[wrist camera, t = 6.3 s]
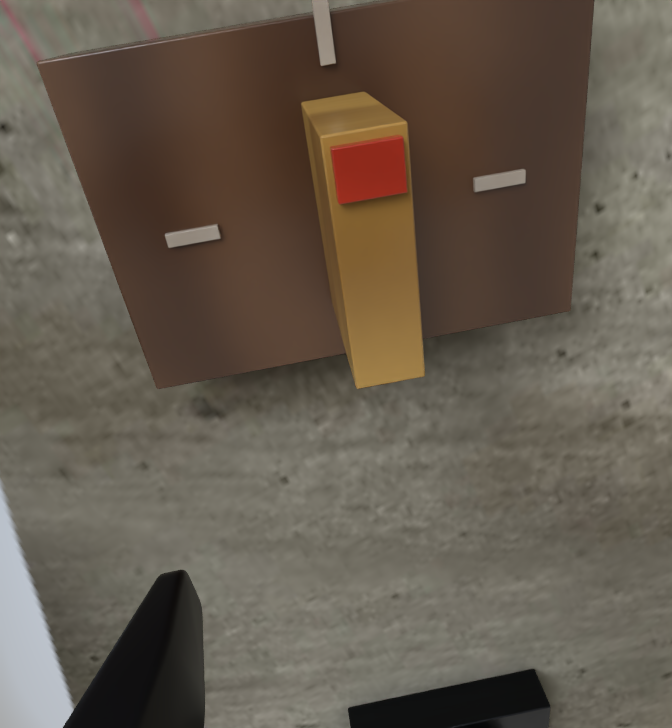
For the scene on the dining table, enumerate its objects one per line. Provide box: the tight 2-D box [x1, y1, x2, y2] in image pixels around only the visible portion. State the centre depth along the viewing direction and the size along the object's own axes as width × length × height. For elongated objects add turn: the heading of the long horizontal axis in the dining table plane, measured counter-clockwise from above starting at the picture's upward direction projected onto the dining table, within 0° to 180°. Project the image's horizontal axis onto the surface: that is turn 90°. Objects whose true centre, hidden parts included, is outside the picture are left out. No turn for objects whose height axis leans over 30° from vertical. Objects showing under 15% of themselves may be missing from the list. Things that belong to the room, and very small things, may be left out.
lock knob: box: [301, 92, 425, 389], centre depth 14 cm, size 6×2×5 cm, turn 8°
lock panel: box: [37, 0, 594, 389], centre depth 17 cm, size 13×10×3 cm
